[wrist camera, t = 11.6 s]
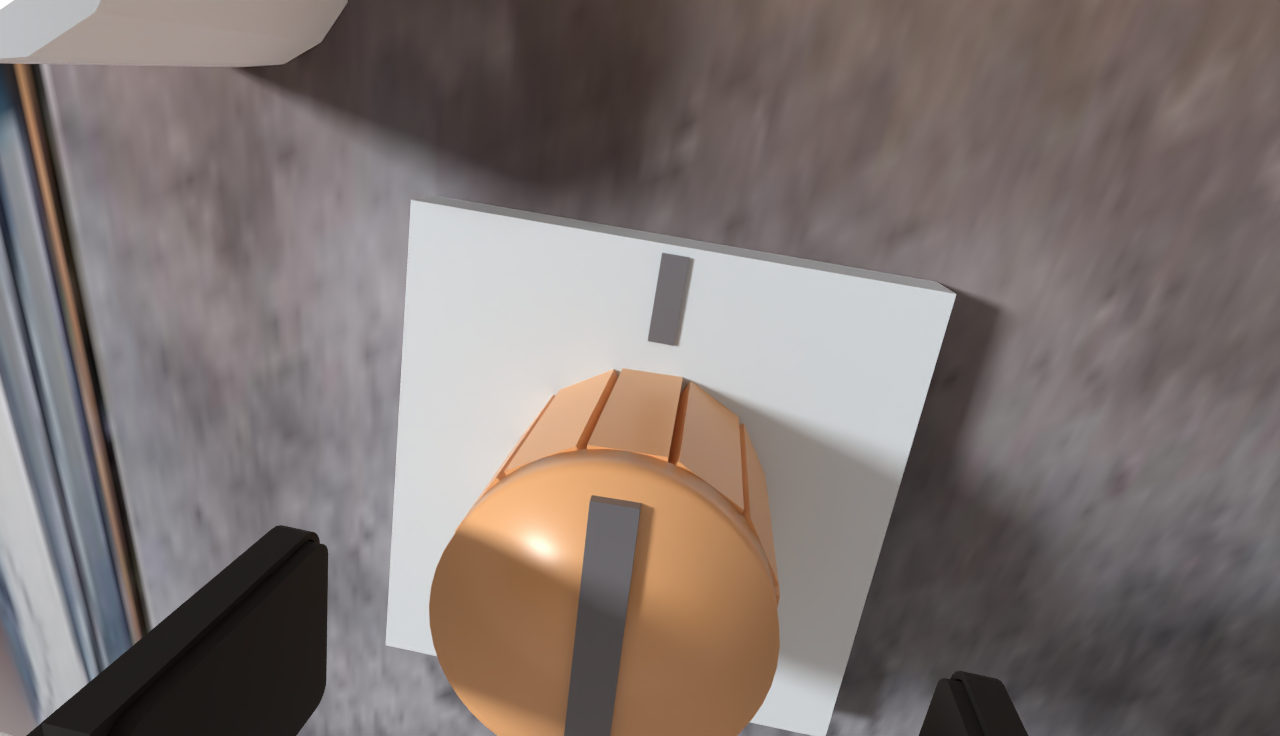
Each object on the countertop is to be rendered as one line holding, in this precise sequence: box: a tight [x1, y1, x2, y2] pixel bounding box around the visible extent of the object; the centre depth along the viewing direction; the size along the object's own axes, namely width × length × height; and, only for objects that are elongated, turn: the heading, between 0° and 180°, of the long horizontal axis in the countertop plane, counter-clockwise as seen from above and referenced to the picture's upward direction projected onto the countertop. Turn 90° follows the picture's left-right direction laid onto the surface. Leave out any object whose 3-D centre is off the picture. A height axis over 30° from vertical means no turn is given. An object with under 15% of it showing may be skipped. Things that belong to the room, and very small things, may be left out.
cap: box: [429, 368, 780, 736], centre depth 15 cm, size 6×6×6 cm
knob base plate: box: [386, 196, 956, 736], centre depth 16 cm, size 12×12×6 cm
